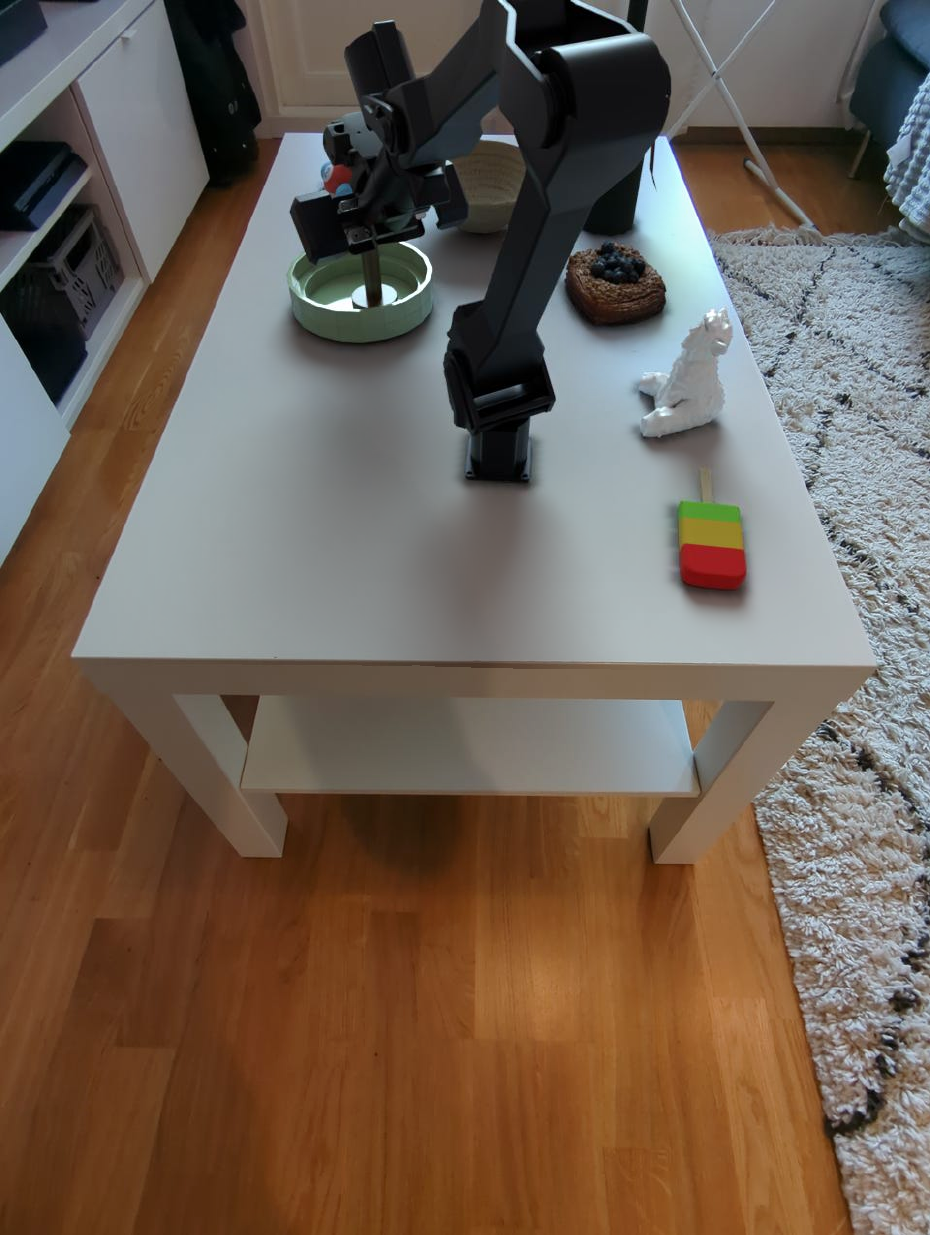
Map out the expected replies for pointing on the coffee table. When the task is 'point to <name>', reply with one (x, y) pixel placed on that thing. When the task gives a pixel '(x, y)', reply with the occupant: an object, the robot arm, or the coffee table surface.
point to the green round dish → (330, 287)
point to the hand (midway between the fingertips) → (364, 242)
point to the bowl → (490, 184)
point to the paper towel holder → (372, 283)
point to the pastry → (614, 286)
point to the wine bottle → (620, 201)
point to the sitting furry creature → (689, 380)
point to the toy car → (336, 179)
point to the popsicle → (710, 541)
